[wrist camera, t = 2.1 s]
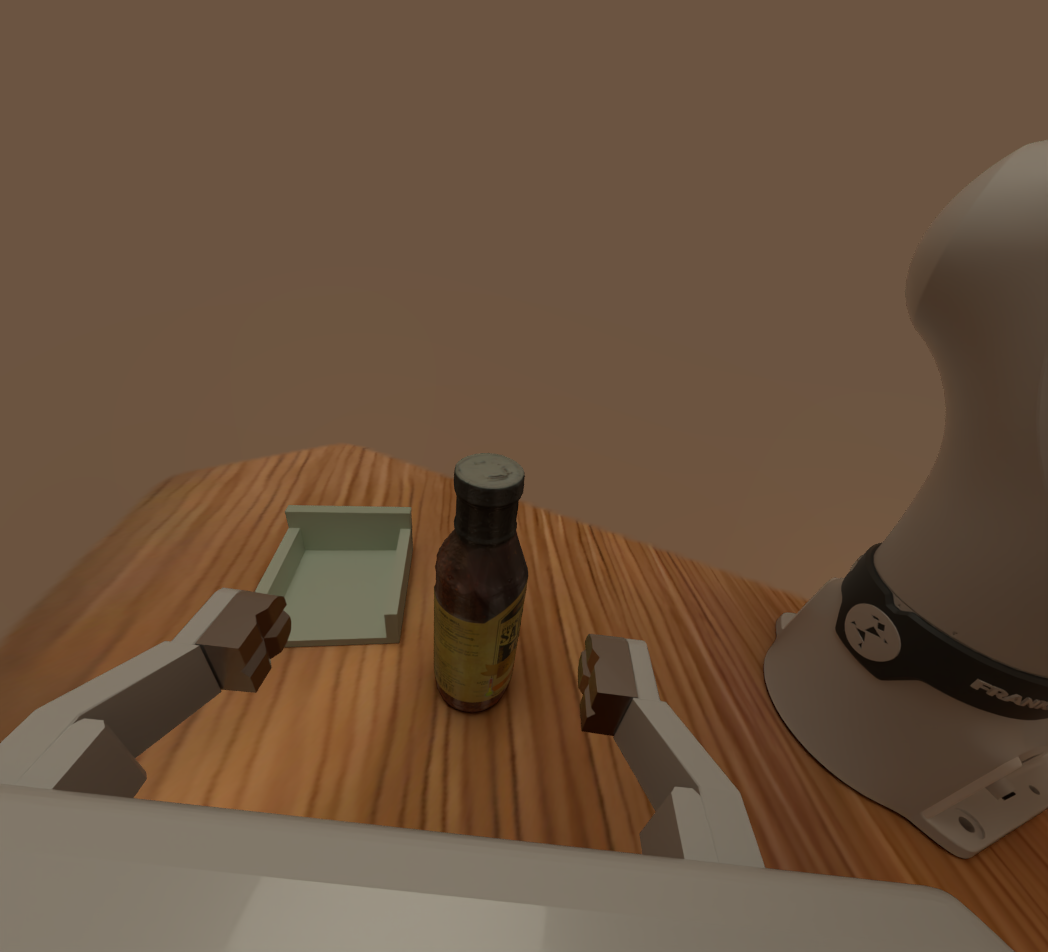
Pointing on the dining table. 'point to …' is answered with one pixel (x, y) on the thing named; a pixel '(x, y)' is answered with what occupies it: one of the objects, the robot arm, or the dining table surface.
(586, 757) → the dining table surface
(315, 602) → the caddy
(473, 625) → the sauce bottle
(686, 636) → the dining table surface
